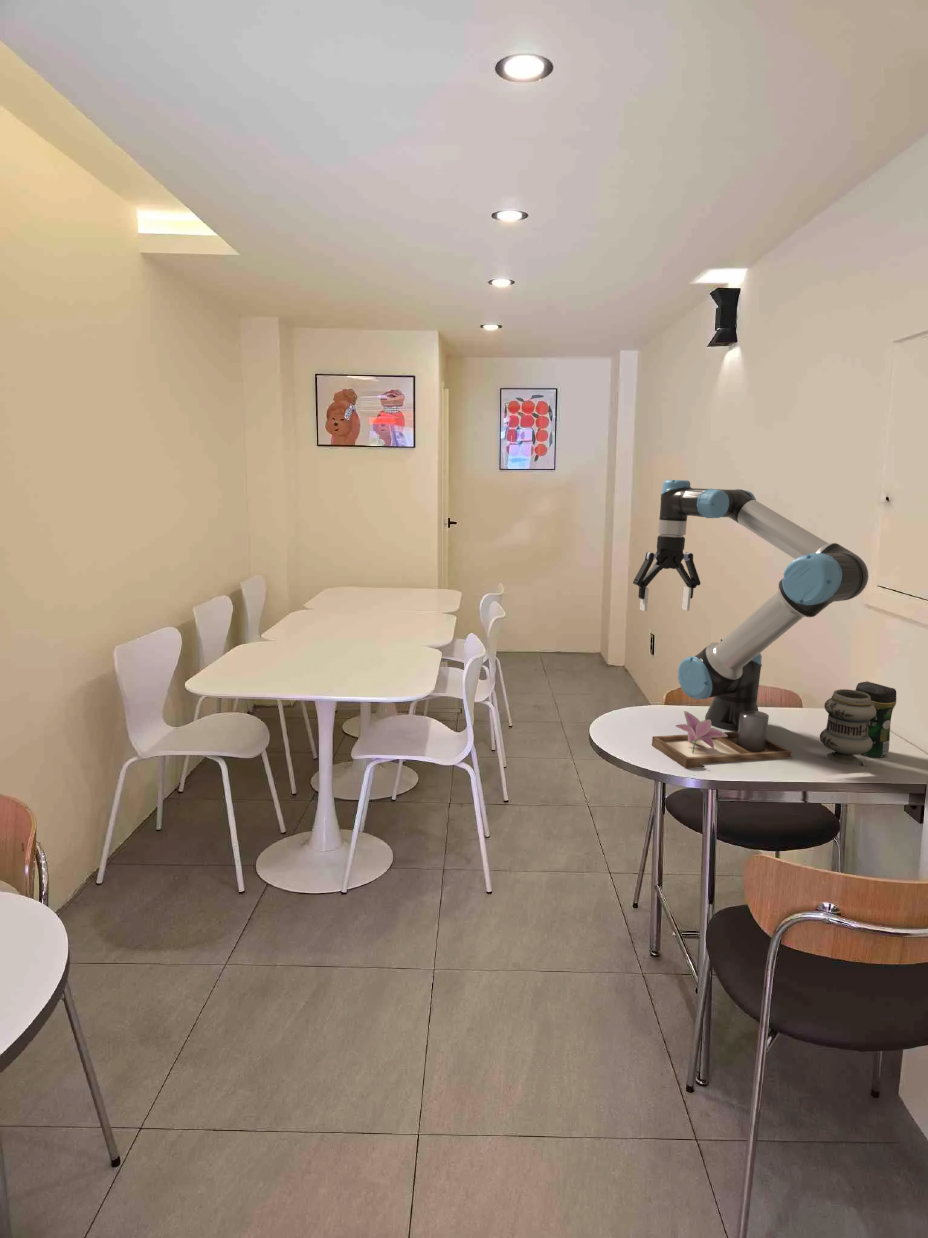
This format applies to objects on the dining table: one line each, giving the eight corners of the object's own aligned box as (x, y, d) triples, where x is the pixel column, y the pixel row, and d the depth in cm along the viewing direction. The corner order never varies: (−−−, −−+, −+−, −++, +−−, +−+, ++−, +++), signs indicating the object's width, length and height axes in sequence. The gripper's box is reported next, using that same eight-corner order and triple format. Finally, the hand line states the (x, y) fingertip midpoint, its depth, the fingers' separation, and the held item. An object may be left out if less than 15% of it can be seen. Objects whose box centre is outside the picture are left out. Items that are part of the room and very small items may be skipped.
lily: (729, 761, 199) (735, 723, 202) (697, 748, 194) (703, 710, 196) (693, 760, 209) (698, 724, 212) (661, 747, 204) (667, 711, 207)
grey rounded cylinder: (753, 742, 211) (757, 709, 210) (770, 751, 205) (774, 717, 203) (730, 743, 210) (734, 710, 208) (747, 752, 203) (750, 718, 201)
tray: (750, 739, 217) (751, 730, 216) (790, 761, 201) (791, 751, 201) (651, 745, 209) (652, 736, 208) (685, 768, 193) (686, 759, 193)
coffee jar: (841, 748, 212) (850, 681, 209) (858, 744, 217) (867, 678, 213) (876, 760, 204) (886, 690, 201) (893, 755, 209) (903, 687, 205)
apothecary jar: (818, 765, 199) (827, 696, 195) (815, 750, 210) (824, 684, 207) (872, 773, 195) (882, 702, 191) (866, 757, 206) (875, 690, 203)
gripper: (702, 534, 231) (695, 607, 235) (625, 533, 223) (619, 607, 227) (717, 537, 223) (710, 611, 228) (638, 536, 216) (631, 612, 220)
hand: (664, 610), depth 227 cm, fingers open, 13 cm apart
